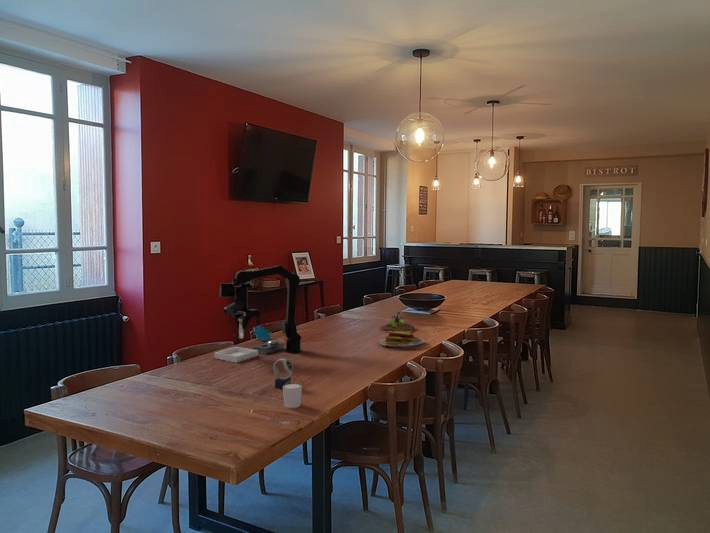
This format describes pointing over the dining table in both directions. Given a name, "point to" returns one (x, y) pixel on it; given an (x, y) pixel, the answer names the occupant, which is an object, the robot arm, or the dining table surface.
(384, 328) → the plant
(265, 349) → the block
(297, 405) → the shot glass
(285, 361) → the watch
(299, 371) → the dining table surface
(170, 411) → the dining table surface
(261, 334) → the gear
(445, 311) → the dining table surface
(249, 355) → the tray
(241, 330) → the pin
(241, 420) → the dining table surface
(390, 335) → the food on plate
